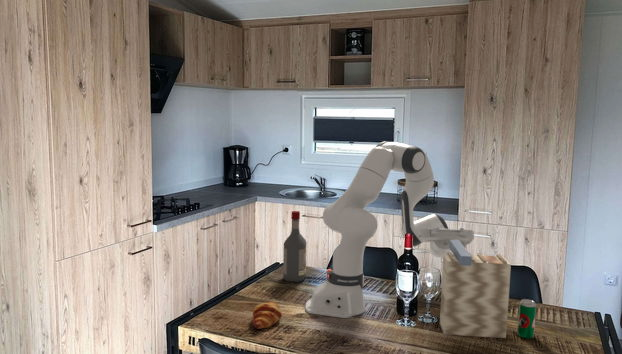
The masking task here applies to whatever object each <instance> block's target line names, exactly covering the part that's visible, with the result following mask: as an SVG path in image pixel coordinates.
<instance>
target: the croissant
mask: <svg viewBox="0 0 622 354" xmlns="http://www.w3.org/2000/svg"><path fill="white" fill-rule="evenodd" d="M282 313H283V312H282V310H281V309H280V306H279V304H278V303H277V302H274V301H265V302H263V303H260V304H257V305H255V307H254V309H253V311H252V319H253V320H252V324H253V327H254V328H255V329H258V330H260V329H267V328H270V327H271V326H273V325H275V324H276V323H277V322H278V321H279V320H281V318H282V316H283V314H282Z"/></svg>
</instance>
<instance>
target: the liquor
mask: <svg viewBox="0 0 622 354" xmlns="http://www.w3.org/2000/svg"><path fill="white" fill-rule="evenodd" d="M300 217H301V212H300V211H298V210H293V211H291V218H290V219H291V231H290V234H289V235H288V237H287V238H286V239H285V241H284V243H283V258H282V259H283V267H282V268H283V272H282V274H283V275H282V278H283V280H284V281H286V282H293V281H294V282H295V283H298V282H299V283H300V282H303V281H304V279H305V278H306V275H307V240H306V239H305V237H304V236H303V235H302V234H301V233H300V232H301V231H300Z"/></svg>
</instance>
